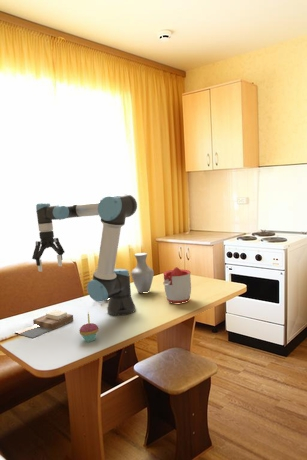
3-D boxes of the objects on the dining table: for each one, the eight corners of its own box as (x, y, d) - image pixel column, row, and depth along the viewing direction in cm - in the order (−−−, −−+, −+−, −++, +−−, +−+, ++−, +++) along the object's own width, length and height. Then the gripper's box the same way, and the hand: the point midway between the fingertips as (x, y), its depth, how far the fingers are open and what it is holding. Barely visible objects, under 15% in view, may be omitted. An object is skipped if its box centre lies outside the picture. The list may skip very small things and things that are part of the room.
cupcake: (81, 336, 164) (79, 311, 163) (100, 334, 165) (98, 309, 164) (79, 344, 156) (76, 317, 155) (99, 342, 156) (96, 315, 155)
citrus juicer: (157, 303, 206) (154, 268, 204) (178, 295, 217) (176, 263, 215) (176, 308, 194) (174, 272, 192) (198, 300, 205) (196, 266, 203)
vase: (129, 292, 233) (126, 254, 231) (149, 288, 239) (146, 251, 237) (137, 297, 220) (134, 257, 218) (158, 293, 226) (156, 253, 224)
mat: (51, 330, 175) (51, 329, 175) (32, 338, 166) (32, 337, 166) (33, 325, 183) (33, 324, 183) (14, 333, 174) (14, 332, 174)
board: (73, 320, 187) (72, 314, 186) (51, 330, 175) (51, 324, 175) (55, 316, 195) (55, 311, 194) (33, 325, 183) (33, 319, 183)
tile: (67, 316, 185) (66, 312, 185) (58, 319, 180) (57, 316, 180) (55, 313, 190) (55, 310, 190) (46, 317, 186) (46, 313, 185)
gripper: (59, 228, 212) (63, 263, 214) (22, 234, 192) (27, 273, 194) (68, 228, 207) (72, 264, 209) (30, 234, 187) (35, 274, 189)
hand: (50, 268), depth 201 cm, fingers open, 13 cm apart
